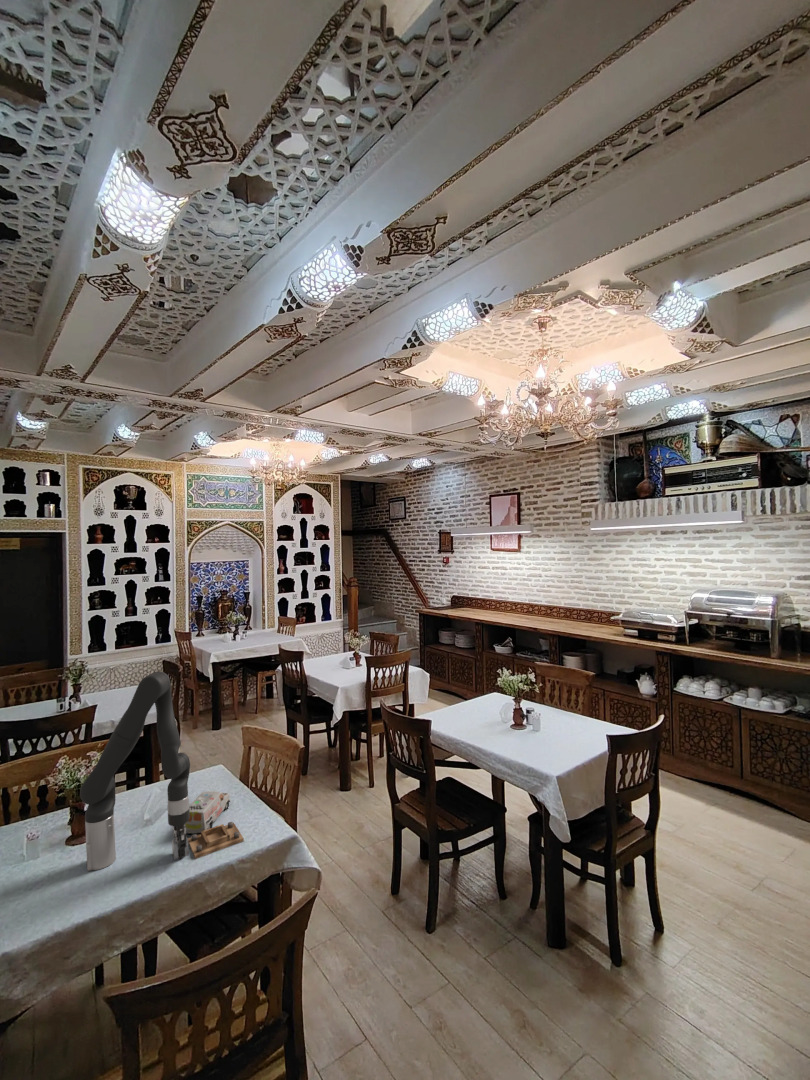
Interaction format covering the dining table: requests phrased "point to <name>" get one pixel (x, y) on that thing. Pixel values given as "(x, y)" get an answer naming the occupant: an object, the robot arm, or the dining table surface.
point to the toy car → (206, 810)
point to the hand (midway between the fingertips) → (180, 853)
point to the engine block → (175, 848)
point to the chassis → (214, 839)
